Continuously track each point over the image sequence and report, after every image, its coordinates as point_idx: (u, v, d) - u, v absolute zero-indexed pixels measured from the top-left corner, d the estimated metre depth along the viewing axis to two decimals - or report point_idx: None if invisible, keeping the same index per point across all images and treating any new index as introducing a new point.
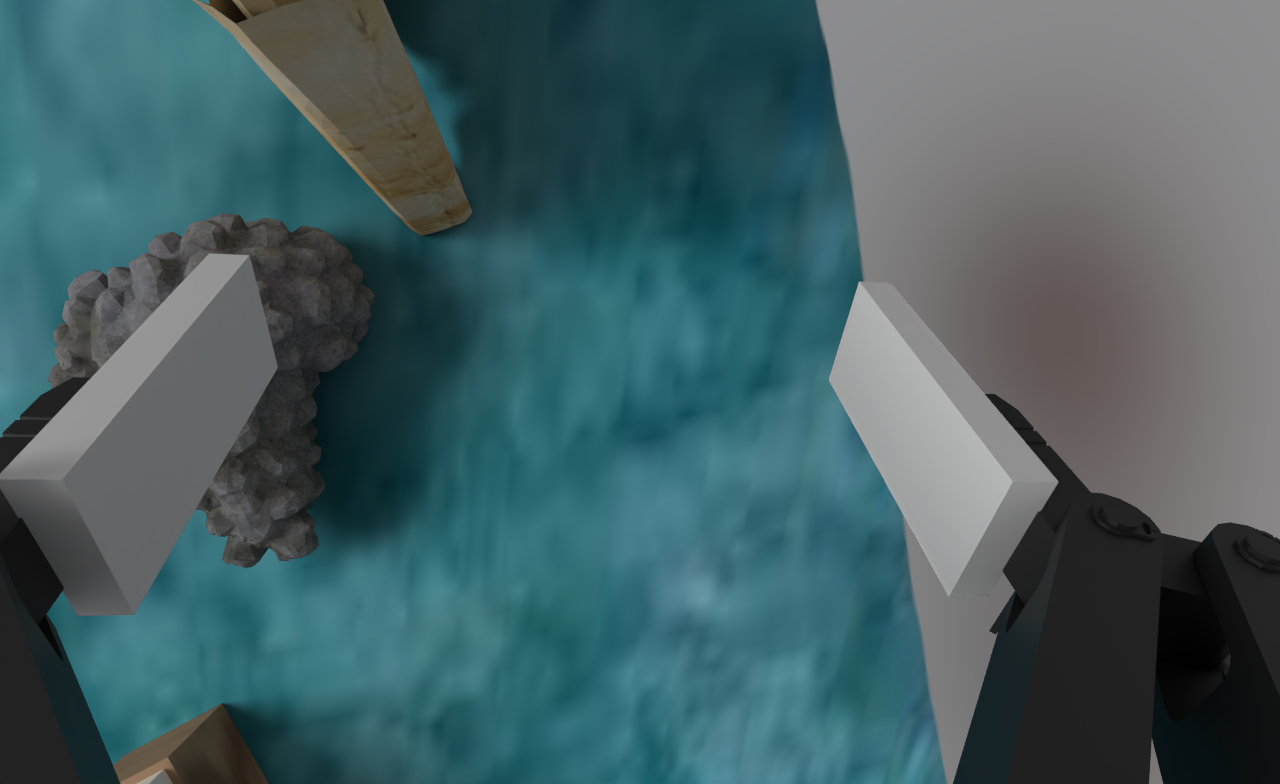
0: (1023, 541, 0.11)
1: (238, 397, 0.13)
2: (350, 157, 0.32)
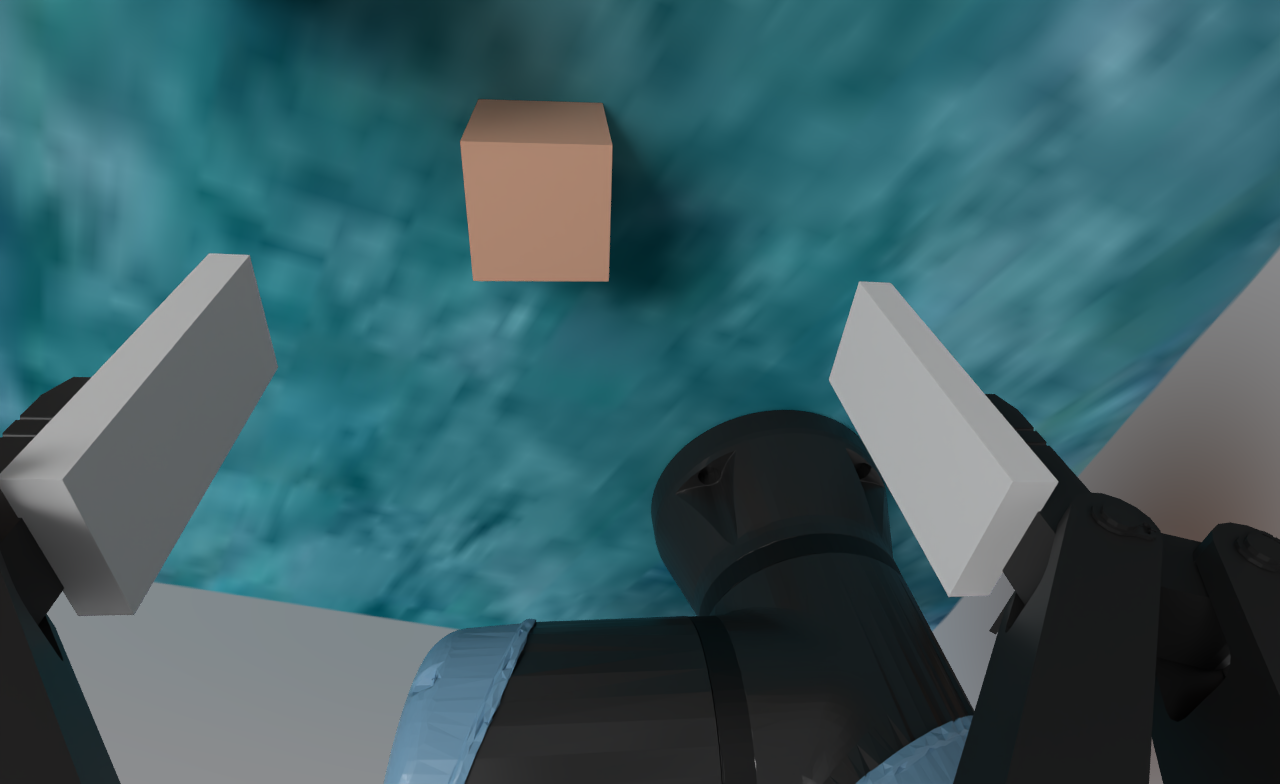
0: (1023, 541, 0.11)
1: (237, 397, 0.13)
2: None
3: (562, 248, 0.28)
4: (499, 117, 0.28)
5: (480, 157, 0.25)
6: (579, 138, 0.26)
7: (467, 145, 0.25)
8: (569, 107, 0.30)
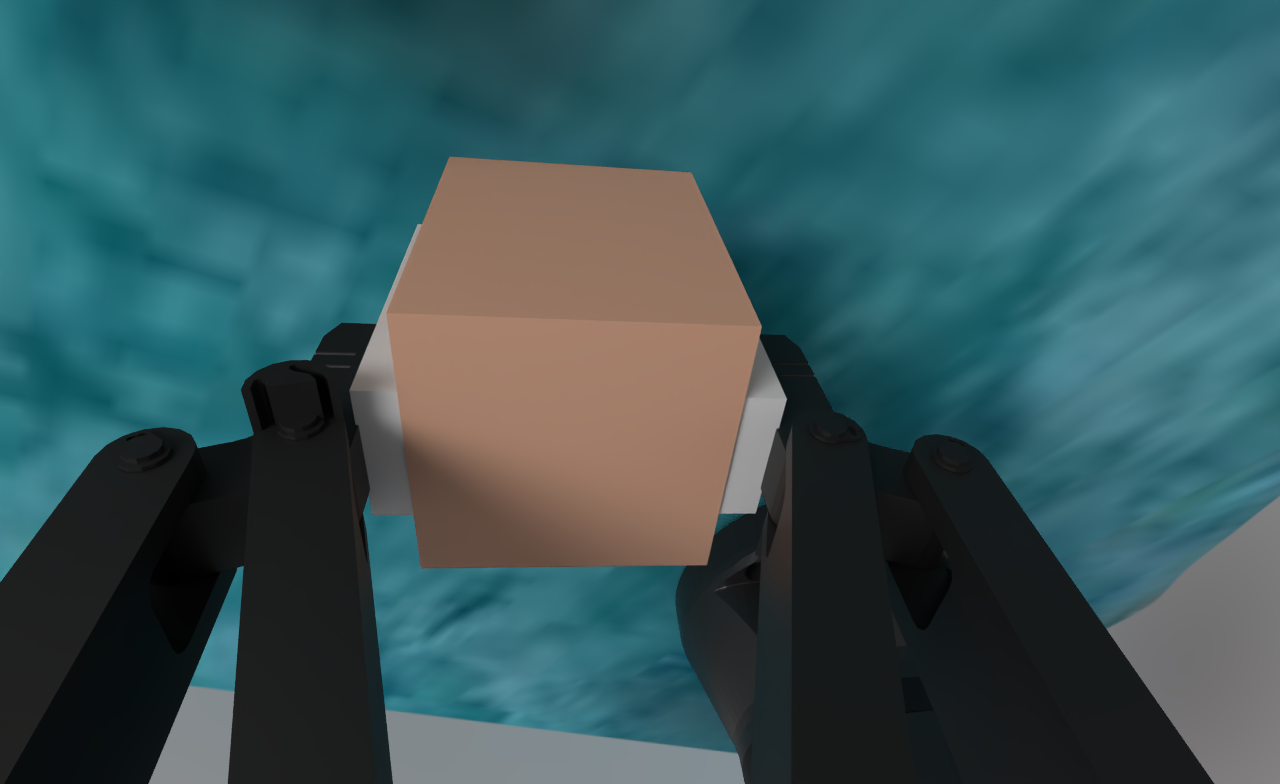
0: (768, 457, 0.12)
1: None
2: None
3: (617, 514, 0.13)
4: (489, 216, 0.13)
5: (438, 346, 0.10)
6: (677, 297, 0.11)
7: (405, 321, 0.10)
8: (631, 185, 0.15)
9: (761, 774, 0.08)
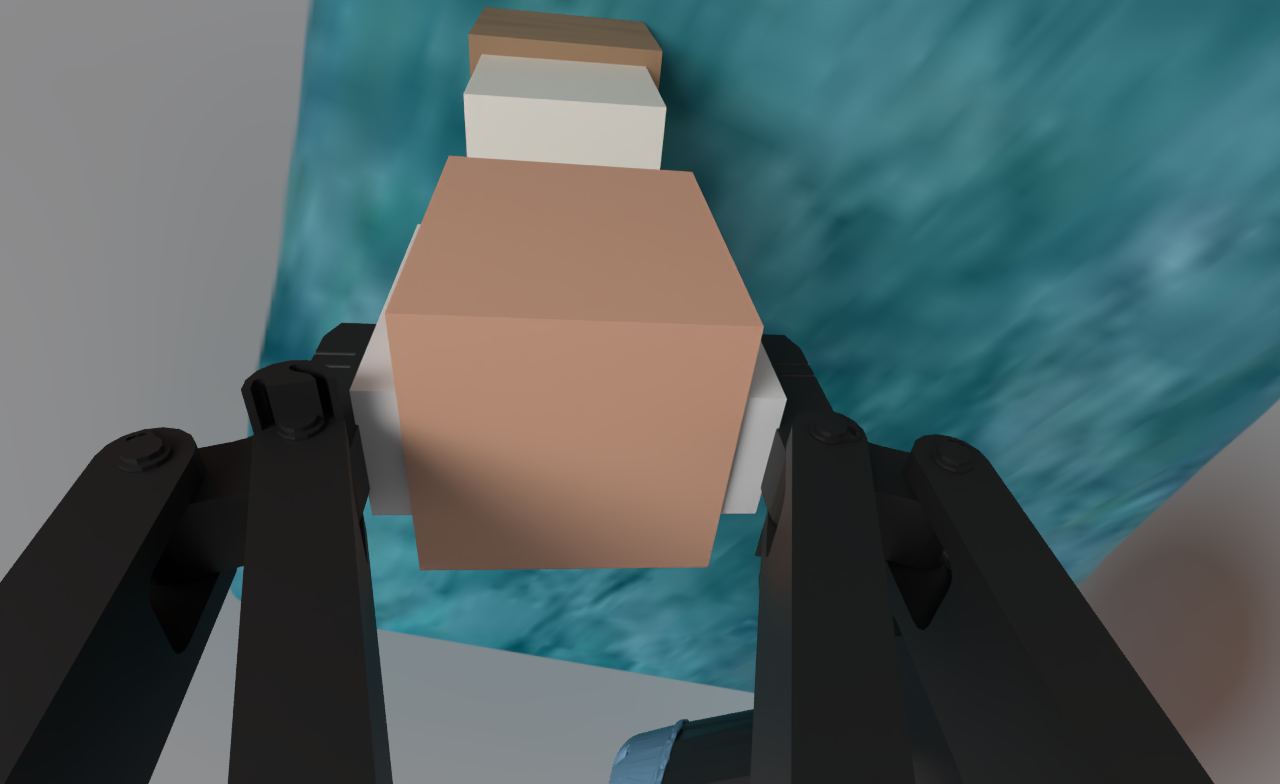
0: (769, 457, 0.12)
1: None
2: None
3: (617, 517, 0.13)
4: (489, 215, 0.13)
5: (438, 347, 0.10)
6: (678, 297, 0.11)
7: (403, 322, 0.10)
8: (632, 184, 0.15)
9: (761, 774, 0.08)
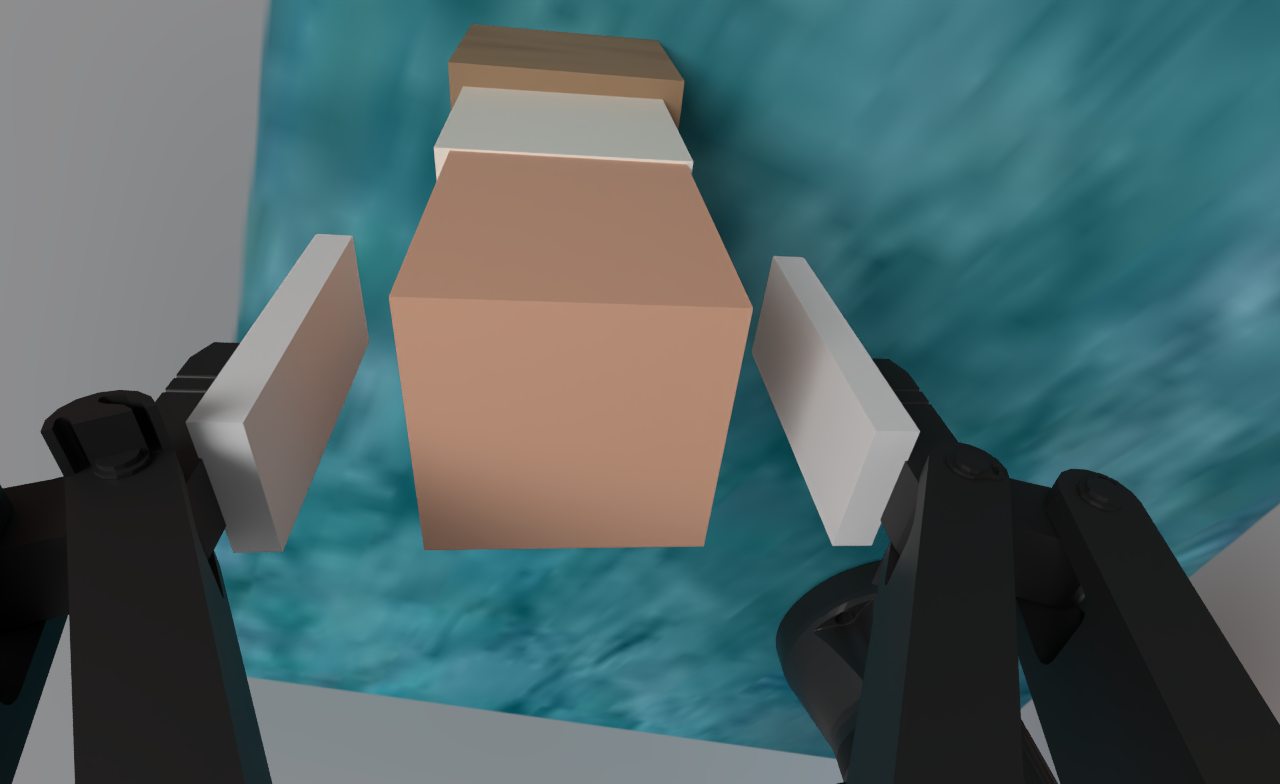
0: (894, 490, 0.12)
1: (344, 366, 0.15)
2: None
3: (614, 496, 0.13)
4: (488, 206, 0.13)
5: (439, 329, 0.10)
6: (671, 281, 0.11)
7: (407, 304, 0.10)
8: (627, 176, 0.15)
9: None
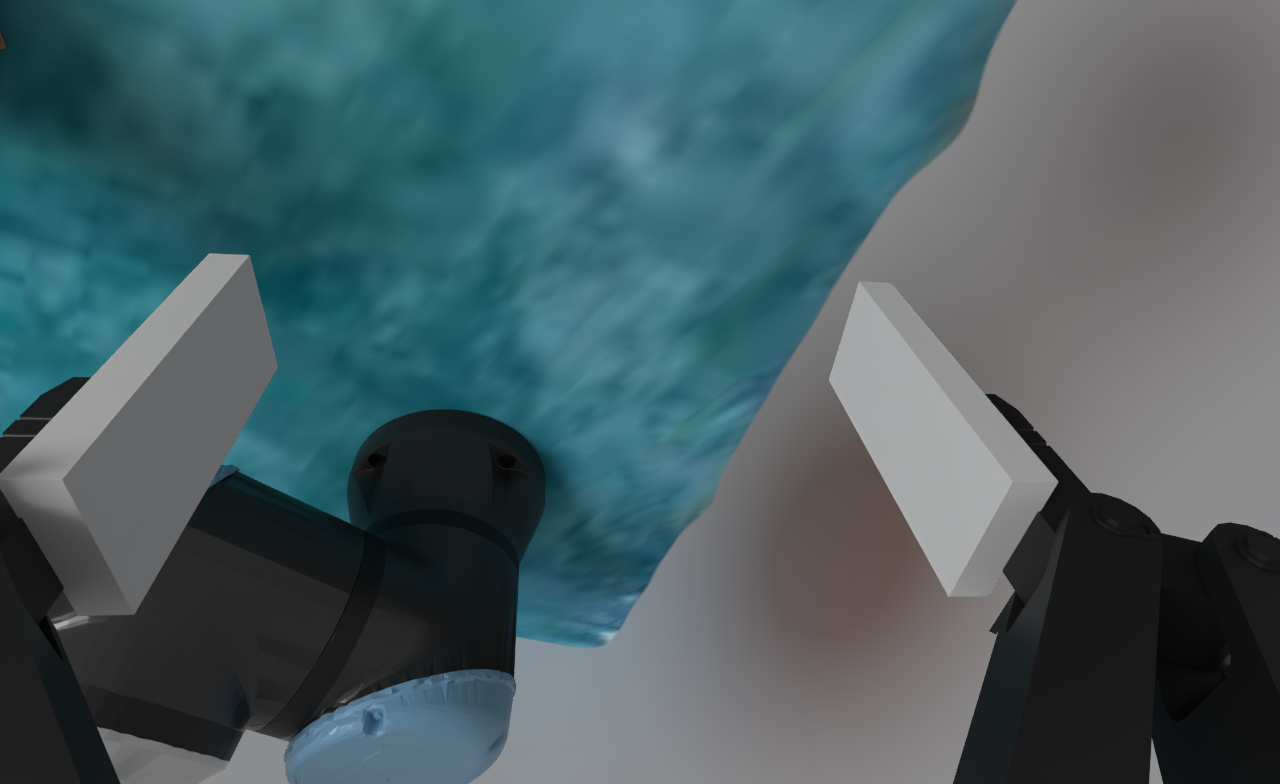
0: (1023, 541, 0.11)
1: (237, 397, 0.13)
2: None
3: None
4: None
5: None
6: None
7: None
8: None
9: None
